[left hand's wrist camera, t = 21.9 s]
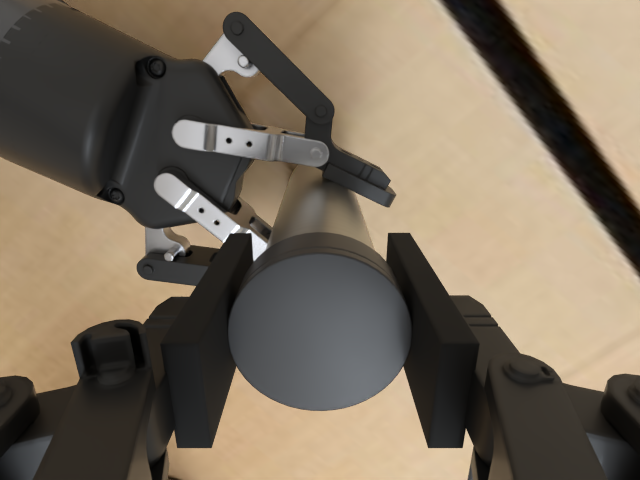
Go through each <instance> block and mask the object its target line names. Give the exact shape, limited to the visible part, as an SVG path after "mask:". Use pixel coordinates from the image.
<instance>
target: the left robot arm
mask: <svg viewBox="0 0 640 480" xmlns="http://www.w3.org/2000/svg"><path fill="white" fill-rule="evenodd" d="M386 262H387V264H388V265H389V266H390V268H391V269H392V271H393V273H394V275H395V277H396V279H397V281H398V283H399V286H400V288H401V291H402V293H403V295H404V298H405V300H406V303H407V305H408V308H409V311H410V314H411V320H412V341H411V348H410V351H409V354H408V357H407V359H406V361H405V364H404V370H405V373H406V376H407V379H408V383H409V386H410V389H411V393H412V396H413V399H414V403H415V406H416V409H417V412H418V416H419V419H420V422H421V426H422V429H423V432H424V435H425V439H426V442H427V445H428V448H463V442H464V436H465V430H466V429H467V431H468V434H469V436H470V438H471V441H472V443H473V445H474V447H473V452H472V458H471V464H470V469H469V475H468V480H640V376H639V375H631V374H620V375H614V376H612V377H611V378H610V379H609V380H608V381H607V384H606V388H605V391H604V392H601V391H596V390H591V389H587V388H582V387H577V386H572V385H568V384H565V383H562V381H561V379H560V377H559V376H558V374H557V373H556V372H555V371H554V369H552V368H551V367H550V366H548V365H547V364H545V363H544V362H542V361H540V360H538V359H536V358H533V357H531V356H528V355H524V354H520V353H519V351H518V350H517V349H516V347H515V346H514V345H513V343H512V342H511V341H510V339H509V338H508V337H507V336H506V334H505V333H504V332H503V330H502V329H501V328H500V327H498V324H497V322H496V321H495V320H494V319H493V317H491V315H490V313H489V312H488V311H487V309H486V308H485V307H484V305H483V304H481V303H480V302H478V301H476V300H475V299H473V298H472V297H470V296H449V294H448V293H447V291H446V290H445V288H444V286H443V285H442V283H441V282H440V280H439V278H438V277H437V275H436V274H435V272H434V271H433V269H432V267H431V266H430V264H429V263H428V261H427V259H426V258H425V256H424V255H423V253H422V252H421V250H420V248H419V247H418V245H417V244H416V242H415V241H414V239H413V237H412V236H411V234H410V233H388V243H387V259H386ZM252 263H253V246H252V233H230V234H229V236H228V237H227V239H226V240H225V242H224V243H223V245H222V247H221V248H220V250H219V251H218V253H217V254H216V256H215V258H214V259H213V261H212V262H211V264H210V266H209V267H208V269H207V270H206V272H205V273H204V275H203V277H202V278H201V280H200V281H199V283H198V284H197V286H196V288H195V289H194V291H193V292H192V294H191V296H190V297H170V298H169V299H167V300H166V301H164V302H163V303H161V304H159V305H158V306H157V307H156V308H155V309H154V311H153V312H152V313H151V315H150V316H149V319H147V320H146V321H145V323H144V324H141V323H140V322H138V321H134V320H113V321H108V322H104V323H101V324H98V325H95V326H93V327H90V328H88V329H86V330H85V331H83V332H82V333H80V334H78V335H77V336H76V337H75V338H74V340H73V341H72V342H71V346H72V350H73V353H74V357H75V361H76V365H77V369H78V373H79V377H80V379H79V381H78V384H77V385H74V386H71V387H67V388H62V389H57V390H52V391H48V392H43V393H38V394H36V392H35V388H34V385H33V382H32V381H30V380H29V379H28V378H27V377H21V376H8V377H0V480H167V478H168V470H169V459H168V452H167V445H168V442H169V440H170V438H171V435H172V433H173V431H175V437H176V443H177V448H212V445H213V442H214V438H215V435H216V432H217V428H218V425H219V422H220V418H221V415H222V412H223V409H224V405H225V402H226V399H227V395H228V392H229V389H230V386H231V382H232V379H233V376H234V372H235V369H236V364H235V362H234V360H233V357H232V355H231V352H230V348H229V343H228V332H227V327H228V318H229V314H230V311H231V307H232V305H233V303H234V300H235V298H236V295H237V293H238V290H239V288H240V286H241V283H242V281H243V278H244V276H245V274H246V272H247V271H248V269H249V267H250V266H251V265H252Z"/></svg>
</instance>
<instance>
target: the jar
mask: <svg viewBox="0 0 640 480" xmlns="http://www.w3.org/2000/svg"><path fill="white" fill-rule="evenodd" d="M313 232H329V233H335V234H341V235H344V236H348V237H351V238H353V239H356V240H358V241H360V242H362V243H364V244H366V245H367V246H369V247H371V248H372V249H373V250H374V247H373V244H372V241H371V238H370V235H369V232H368V229H367V226H366V223H365V221H364V218H363V215H362V212H361V209H360V206H359V203H358V200H357V197H356V194H355V192H353V191H351V190H349V189H347V188H345V187H343V186H341V185H339V184H337V183H335V182H333V181H330V180H328V179H326V178H324V177H322V170H320V169H318V168H315V167H312V166H306V165H300V164H298V165H297V166H296V168H295V169H294V170H293V172H292V174H291V177H290V179H289V182H288V185H287V188H286V191H285V194H284V197H283V200H282V203H281V206H280V208H279V211H278V214H277V217H276V220H275V223H274V226H273V229H272V232H271V235H270V237H269V240H268V243H267V246H266V249H265V250H267V249H268V248H270V247H271V246H272V245H274V244H276V243H278V242H280V241H282V240H284V239H286V238H289V237H292V236H295V235H300V234H304V233H313ZM374 251H375V250H374Z"/></svg>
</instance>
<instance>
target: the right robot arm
mask: <svg viewBox="0 0 640 480" xmlns="http://www.w3.org/2000/svg"><path fill="white" fill-rule="evenodd" d="M223 32H224V33H223V35H222V36H221V37H220V39H219V40H218V41H217V42H216V44H215V45H214V46H213V48H212V49H211V50H210V52H209V53H208V54H207V55H206V57H205V58H204V59H203V61H201V60H197V59H187V60H179V59H175V58H173V57H171V56H169V55H166V54H164V53H162V52H160V51H158V50H156V49H154V48H152V47H150V46H148V45H146V44H144V43H142V42H140V41H138V40H136V39H134V38H132V37H130V36H128V35H126V34H124V33H122V32H120V31H118V30H116V29H114V28H112V27H110V26H108V25H106V24H104V23H102V22H100V21H98V20H96V19H94V18H92V17H90V16H88V15H86V14H84V13H82V12H80V11H78V10H76V9H74V8H72V7H70V6H69V5H68V4H66V3H65V2H64V1H62V0H0V157H1V158H4V159H6V160H8V161H10V162H13V163H15V164H17V165H20V166H22V167H24V168H27V169H29V170H31V171H34V172H36V173H38V174H41V175H43V176H45V177H48V178H50V179H52V180H55V181H57V182H59V183H62V184H64V185H66V186H69V187H71V188H73V189H75V190H78V191H80V192H82V193H85V194H87V195H89V196H92V197H94V198H97V199H100V200H104V201H107V202H111V203H114V204H117V205H119V206H121V207H122V208H124V209H125V210H126V211H128V212H129V213H130V214H131V215H132V216H133V217H134V218H135V220H136V221H137V222H138V223H140V224H141V225H143V226H145V244H146V255H145V256H144V257H143V258H142V259H141V260H140V261H139V262H138V264H137V272H138V274H139V275H140V276H141V277H142V278H144V279H147V280H153V281H161V282H169V283H177V284H185V285H193V286H197V284H198V283H199V281H200V280H201V278H202V277H203V275H204V273H205V272H206V270H207V269H208V267H209V266H210V264H211V262H212V261H213V259H214V258H215V256H216V254H217V253H218V251H219V250H220V249H217V248H209V247H201V246H194V245H190V243H189V241H188V240H187V238H185V237H183V236H180V235H177V234H175V233H174V232H173V231H172V230H171V228H170V227H174V226H180V225H185V224H191V223H197V222H198V223H199V224H200V225H201V226H203V227H204V228H205V229H206V230H208V231H209V232H210V233H212V234H213V235H214V236H215V237H217V238H218V239H219V240H221V241H222V242H223V243H224V242H225V240H226V239H227V237H228V236H229V234H230V233H252V246H253V262H254V261H255V260H256V259H257V257H259V256H260V255H261V254H262V253H263V252H264V251H265V249H266V246H267V243H268V240H269V237H270V235H271V232H272V229H273V228H272V227H271V226H270V225H268V224H267V223H266V222H265V221H264V220H262V219H261V218H260V217H259V216H258V215H257V214H256V213H255V211H254V209H253V208H252V207H251V206H250V205H249V204H247V203H246V202H245V201H244V200H243V199H241V198H240V197H239V195H240V192H241V190H242V184H243V176H244V173H245V172H246V170H247V169H248V168H249V167H250V165H251V164H252V163H253V161H254V159H259V160H264V161H282V162H288V163H294V164H300V165H306V166H312V167H315V168H318V169H320V170H322V177H324V178H326V179H328V180H330V181H333V182H335V183H337V184H339V185H341V186H343V187H345V188H347V189H349V190H351V191H353V192H356V193H358V194H360V195H362V196H364V197H366V198H368V199H370V200H372V201H374V202H376V203H379V204H381V205H383V206H385V207H390V205H391V203H392V202H393V200H394V198H395V196H396V194H395V192H394V191H393V190H392V189H391V188H390V187H389V186H388V185H389V183H390V181H391V180H390V179H389V178H388V177H387V175H386V174H385V173H384V172H383V171H382V170H381V168H380V167H378V166H376V165H374V164H372V163H370V162H368V161H366V160H364V159H362V158H360V157H358V156H356V155H354V154H352V153H350V152H348V151H346V150H344V149H342V148H340V147H338V146H336V145H335V144H334V143H333V141H332V139H331V128H332V119H333V116H334V106H333V104H332V102H331V101H330V100H329V99H328V98H327V97H326V96H325V95H324V94H323V93H322V92H321V91H320V90H319V89H318V88H317V87H316V86H315V85H314V84H313V83H312V82H311V81H310V80H309V79H308V78H307V77H306V76H305V75H304V74H303V73H302V72H301V71H300V70H299V69H298V68H297V67H296V66H295V65H294V64H293V63H292V62H291V61H290V60H289V59H288V58H287V57H286V56H285V55H284V54H283V53H282V52H281V51H280V50H279V49H278V48H277V47H276V46H275V45H274V43H273V42H272V41H271V40H270V39H269V38H268V37H267V36H266V35H265V34H264V33H263V32H262V31H261V30H260V29H259V28H258V27H257V26H256V25H255V24H254V23H253V22H252V21H251V20H250V19H249V18H248V17H247V16H246V15H244V14H243V13H240V12H233V13H230V14H229V15H228V16H227V17H226V18H225V20H224V22H223ZM231 71H234V72H236V73H238V74H239V75H241V76H243V77H248V78H253V77H256V76H257V75H258V74H259V73H260V72H261V73H262V74H264V75H265V76H266V77H267V78H268V79H269V80H270V81H271V82H272V83H273V84H274V85H275V86H276V87H277V88H278V89H279V90H280V91H281V92H282V93H283V94H284V95H285V96H286V97H287V98H288V99H289V100H290V101H291V102H292V103H293V104H294V105H295V106H296V107H297V108H298V109H299V110H300V111H301V112H302V113H303V114H304V115H306V126H305V133H302V132H297V131H291V130H286V129H283V128H279V127H274V126H268V125H262V124H256V123H251V122H250V121H249V120H248V118H247V116H246V114H245V113H244V111H243V109H242V108H241V106H240V104H239V102H238V101H237V99H236V97H235V95H234V94H233V92H232V90H231V88H230V87H229V85H228V83H227V81H226V80H225V78H224V75H225V74H226V73H228V72H231ZM217 220H218V221H219V222H218V221H217ZM167 480H172V479H168V478H167Z"/></svg>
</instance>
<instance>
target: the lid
mask: <svg viewBox="0 0 640 480" xmlns="http://www.w3.org/2000/svg"><path fill="white" fill-rule="evenodd" d="M227 332H228V343H229V348H230V352H231V355H232V357H233V360H234V362H235V364H236V366H237V368H238V369H239V371H240V372H241V373H242V375H243V376H244V378H245V379H246V380H247V381H248V382H249V383H250V384H251V385H252V386H253V387H254V388H256V389H257V390H258V391H259V392H261V393H262V394H264V395H265V396H267V397H268V398H270V399H272V400H274V401H276V402H279V403H281V404H284V405H287V406H290V407H294V408H298V409H303V410H311V411H327V410H336V409H342V408H346V407H350V406H353V405H356V404H359V403H361V402H363V401H366V400H367V399H369V398H371V397H373V396H375V395H376V394H378V393H379V392H380V391H382V390H383V389H384V388H385V387H386V386H388V385H389V384H390V383H391V382H392V381H393V379H394V378H395V377H396V376H397V375H398V373H399V372H400V370H401V369H402V367H403V366H404V364H405V361H406V359H407V357H408V354H409V351H410V348H411V341H412V320H411V314H410V311H409V308H408V305H407V303H406V300H405V298H404V295H403V293H402V291H401V288H400V286H399V283H398V281H397V279H396V277H395V275H394V273H393V271H392V269H391V268H390V266H389V265H388V264H387V262H386V261H385V260H384V259H383V258H382V257H381V256H380V255H379V254H378V253H377V252H376V251H374V250H373V249H372V248H371V247H369V246H367V245H366V244H364V243H362V242H360V241H358V240H356V239H353V238H351V237H348V236H344V235H341V234H335V233H329V232H313V233H304V234H300V235H295V236H292V237H289V238H286V239H284V240H282V241H280V242H278V243H276V244H274V245H272V246H271V247H270V248H268V249H267V250H265V251H264V252H263V253H262V254H261V255H260V256H259V257H257V259H256V260H255V261H254V262H253V263H252V265H251V266H250V267H249V269H248V271H247V272H246V274H245V276H244V278H243V281H242V283H241V286H240V288H239V290H238V293H237V295H236V298H235V300H234V303H233V305H232V307H231V311H230V314H229V318H228V327H227Z"/></svg>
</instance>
